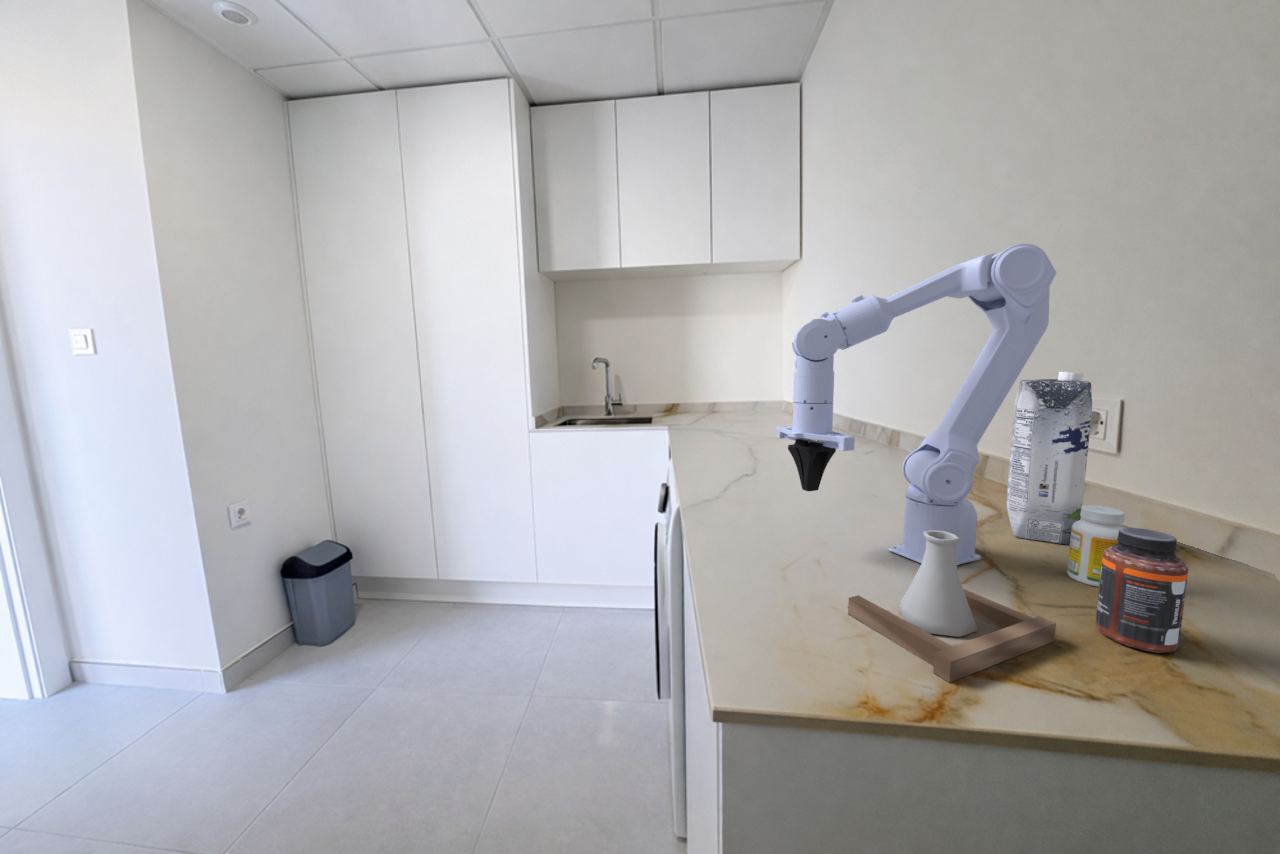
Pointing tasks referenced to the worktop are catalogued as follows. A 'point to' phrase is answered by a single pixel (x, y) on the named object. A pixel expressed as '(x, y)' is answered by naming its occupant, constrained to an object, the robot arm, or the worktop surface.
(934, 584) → the flask
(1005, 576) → the worktop surface
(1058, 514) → the juice carton
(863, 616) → the walnut bay
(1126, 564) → the supplement bottle
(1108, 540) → the supplement bottle
